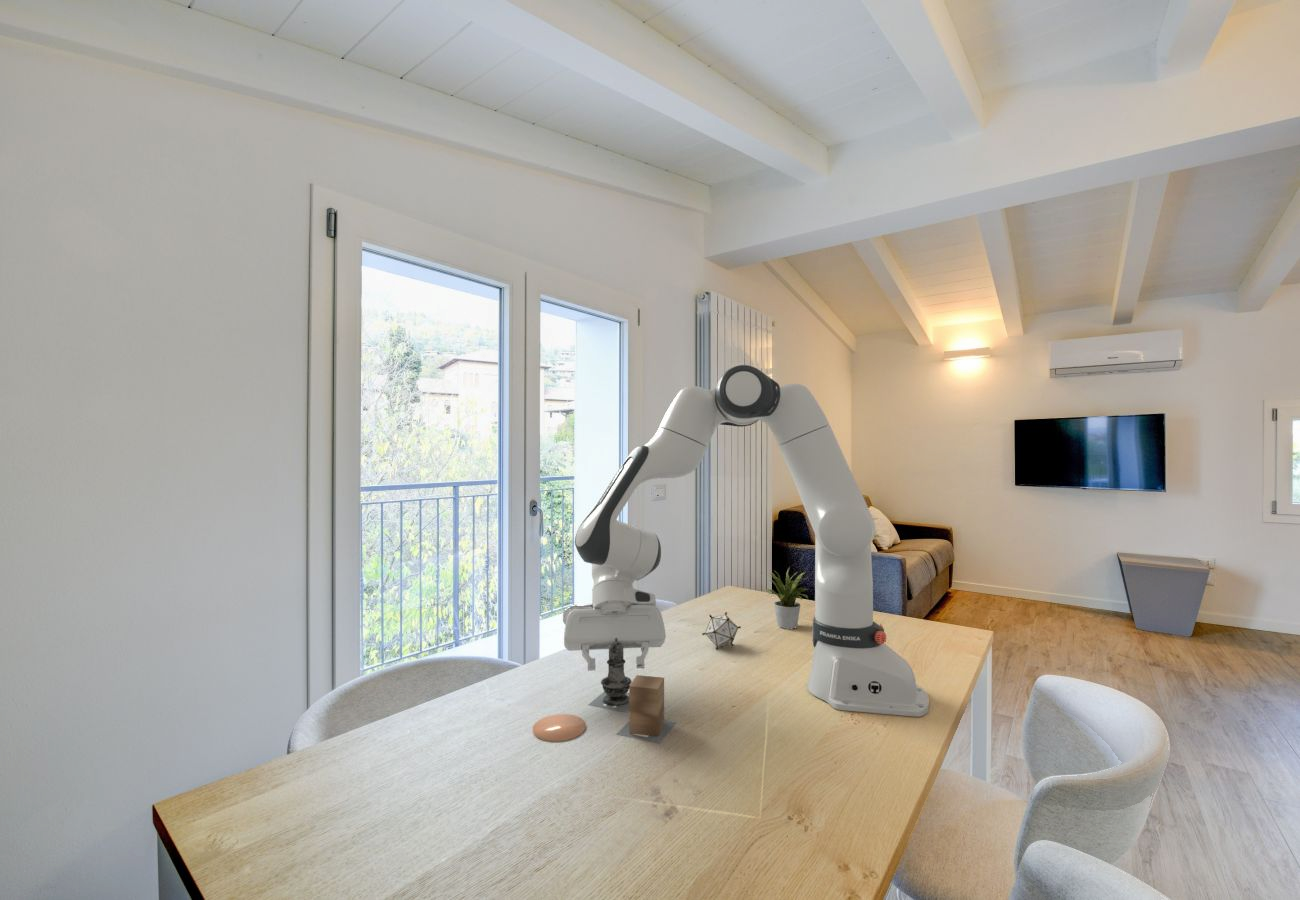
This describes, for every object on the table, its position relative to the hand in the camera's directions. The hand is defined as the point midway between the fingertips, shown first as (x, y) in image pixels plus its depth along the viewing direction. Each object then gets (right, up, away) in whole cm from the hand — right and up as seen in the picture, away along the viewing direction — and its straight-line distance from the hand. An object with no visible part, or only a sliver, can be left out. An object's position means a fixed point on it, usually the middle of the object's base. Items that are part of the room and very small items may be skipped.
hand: (616, 668), depth 110 cm
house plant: (+43, -7, +47) cm, 64 cm away
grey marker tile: (0, -6, 0) cm, 7 cm away
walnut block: (+6, -6, -11) cm, 14 cm away
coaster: (-9, -6, -11) cm, 16 cm away
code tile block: (+6, -6, -11) cm, 14 cm away
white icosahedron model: (+24, -7, +31) cm, 40 cm away
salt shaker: (0, -6, 0) cm, 6 cm away
